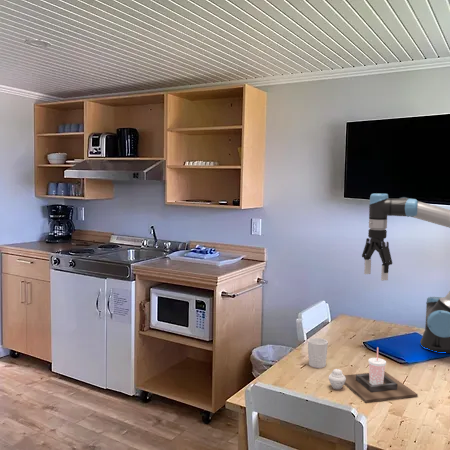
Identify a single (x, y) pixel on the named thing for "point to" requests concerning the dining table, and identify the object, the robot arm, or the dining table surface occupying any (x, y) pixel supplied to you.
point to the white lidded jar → (337, 379)
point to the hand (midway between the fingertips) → (375, 277)
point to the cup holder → (378, 388)
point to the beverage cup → (376, 370)
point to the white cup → (317, 352)
